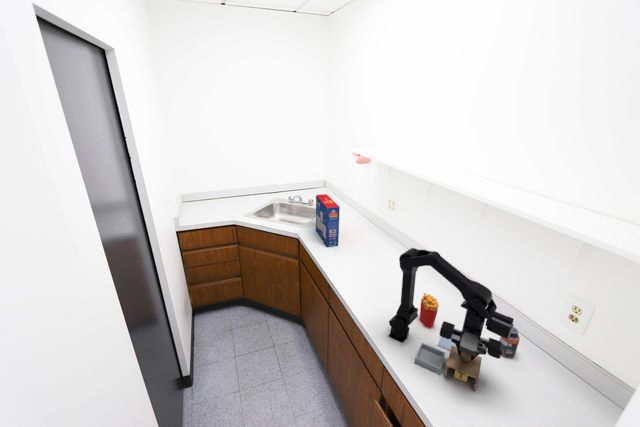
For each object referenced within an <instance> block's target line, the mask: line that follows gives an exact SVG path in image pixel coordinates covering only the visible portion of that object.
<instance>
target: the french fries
mask: <svg viewBox="0 0 640 427" xmlns="http://www.w3.org/2000/svg"><path fill="white" fill-rule="evenodd" d="M438 308H439V302H438V299H437V298H436V297H434V296H433V295H431V294H428V293H426V292H424V293H423V295H422V298H421V300H420V311H419V321H420V323H421V324H422V325H423V326H424V327H426V328H428V329H431V328H433V327H434V325H435V322H436V321H435V320H436V317H437V316H438V315H437V314H438V311H439V310H438Z"/></svg>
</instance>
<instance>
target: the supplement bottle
mask: <svg viewBox="0 0 640 427" xmlns="http://www.w3.org/2000/svg"><path fill="white" fill-rule="evenodd" d="M498 341H501V343H502V354H501V356H503V357H505V358H509V359H510V358H511V359H513V358H514V357H515V356H516V353H517V349H518V346H519V343H520V335H519V330H518V329H517V328H516V327H514V326H513V328H512V331H511V334H510V336H509V338H508V339H506V338H503V337H501V336H499V340H498Z"/></svg>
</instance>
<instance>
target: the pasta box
mask: <svg viewBox="0 0 640 427" xmlns="http://www.w3.org/2000/svg"><path fill="white" fill-rule="evenodd" d="M340 207H341V206H339V205H338V204H337V203H336V201H334V200H333V199H332V198H331V197H330V196H329V194H327V193H325V194H315V232H316V233H317V235H318V234H319V235H318V236H319V237H321V238H320V239H321V240H322V242H323V244H324V245H325V248H333V247H339V240H340V239H339V238H340V237H339V235H340V234H339V233H340V231H339V230H340Z"/></svg>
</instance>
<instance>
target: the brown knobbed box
mask: <svg viewBox="0 0 640 427" xmlns="http://www.w3.org/2000/svg"><path fill="white" fill-rule="evenodd" d="M471 357H472V356H471V355H469V354H467V353H464V352H460V356H459V355H458V351H457V347H454V346H452V347H451V351H449V355H448V359H447V361H446V364H445V371H444V375H443V377H444V378H447V374H448V370H449V368H450V369H453V370H454V371H455V370H457V371H460V372H462V373H464V374H467V375H468V377H471V378H474V384H473V389H472V391H473V392H476V389H477V386H478V383H479V382H478V381H479V380H480V373H481V367H482V366H481V365H482V360H483V359H482V358H483V357H482V356H480V355H478V356H477V357H475V358H474V359H473V360H472V361H471Z"/></svg>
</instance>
